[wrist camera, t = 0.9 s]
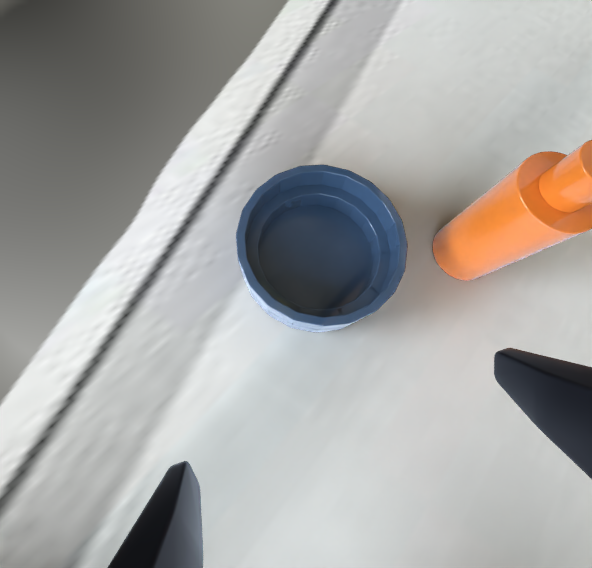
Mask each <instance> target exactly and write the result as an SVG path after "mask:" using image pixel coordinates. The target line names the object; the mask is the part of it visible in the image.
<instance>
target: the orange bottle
mask: <svg viewBox="0 0 592 568" xmlns="http://www.w3.org/2000/svg"><path fill="white" fill-rule="evenodd" d="M590 229H592V140H589V141H587V142H585V143H584V144H583V145H581V146H580V147H578V148H577V149H576V150H574V151H573V152H571V153H570V154H569V155H566V154H562V153H558V152H540V153H537V154H534V155H532V156H530V157H528V158H527V159H526V160H524V161H523V162H522V163H521V164H519V165H518V166H517V167H516V168H514V169H513V170H512V171H511V172H510V173H508V174H507V175H506V176H505V177H503V178H502V179H501V180H500V181H499V182H497V183H496V184H495V185H494V186H492V187H491V188H490V189H489V190H487V191H486V192H485V193H484V194H483V195H481V196H480V197H479V198H478V199H476V200H475V201H474V202H473V203H472V204H470V205H469V206H468V207H467V208H465V209H464V210H463V211H462V212H461V213H459V214H458V215H457V216H456V217H454V218H453V219H452V220H451V221H449V222H448V223H447V224H446V225H445V226H443V227H442V228H441V229H440V230H439V231H438V232H437V233H436V235H435V237H434V241H433V254H434V257H435V259H436V262H437V263H438V265H439V266H440V267H441V269H442V270H443V271H444V272H446V273H447V274H448V275H450V276H452V277H454V278H456V279H459V280H466V281H468V280H475V279H478V278H480V277H483V276H485V275H487V274H489V273H492V272H494V271H496V270H499V269H501V268H503V267H506V266H508V265H510V264H513V263H515V262H517V261H519V260H522V259H524V258H526V257H529V256H531V255H533V254H536V253H538V252H540V251H543V250H545V249H547V248H549V247H552V246H554V245H556V244H559V243H561V242H563V241H566V240H568V239H570V238H573V237H575V236H577V235H579V234H582V233H584V232H586V231H588V230H590Z"/></svg>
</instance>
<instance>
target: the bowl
mask: <svg viewBox="0 0 592 568" xmlns="http://www.w3.org/2000/svg"><path fill="white" fill-rule="evenodd" d="M236 242H237V253H238V261H239V265H240V269H241V272H242V276H243V278H244V281H245V283H246V285H247V287H248V289H249V292H250V294H251V296H252V298H253V299H254V300H255V301H256V302H257V303H258V304H259V305H260V306H261V308H262V309H263V310H264V311H265V312H266V313H267V314H268V315H269V316H271V317H273V318H274V319H276V320H278V321H280V322H281V323H283V324H285V325H287V326H289V327H291V328H295V329H300V330H305V331H310V332H325V331H333V330H340V329H342V328H344V327H346V326H348V325H351V324H353V323H355V322H357V321H359V320H361V319H363V318H365V317H367V316H368V315H370V314H372V313H374V312H375V311H377V310H378V309H379V308H380V307H381V306H382V305H383V304H384V303H385V302H386V301H387V300H388V299H389V298H390V297H391V296H392V295H393V294H394V292H395V291H396V289H397V287H398V284H399V282H400V280H401V278H402V276H403V274H404V272H405V267H406V257H407V247H408V246H407V240H406V236H405V231H404V227H403V222H402V220H401V218H400V216H399V215H398V213H397V211H396V209H395V208H394V206H393V204H392V203H391V201H390V200H389V198H388V197H387V196H386V195H385V194H383V193H382V192H381V191H380V190H379V189H378V188H377V187H376V186H375V185H374V184H373V183H372V182H370V181H369V180H367V179H365V178H363V177H361V176H359V175H357V174H355V173H353V172H352V171H349V170H346V169H341V168H337V167H332V166H328V165H308V166H298V167H296V168H293V169H290V170H287V171H284V172H282V173H279V174H277V175H275V176H273V177H272V178H271V179H269V180H268V181H267V182H265V183H264V184H263V185H262V186H260V187H259V188H258V189H257V190H256V191H255V192H254V194H253V195H252V197H251V198H250V199H249V201H248V202H247V204H246V205H245V207H244V208H243V210H242V213H241V217H240V221H239V225H238V228H237V232H236Z"/></svg>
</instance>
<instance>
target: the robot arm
mask: <svg viewBox="0 0 592 568" xmlns="http://www.w3.org/2000/svg"><path fill="white" fill-rule="evenodd" d="M494 375H495V378H496V380H497V382H498V383H499V385H500V386H501V387H502V388H503V389H504V390H505V391H506V392H507V394H508V395H509V396H510V397H511V398H512V399H513V400H514V401H515V403H516V404H517V405H518V406H519V407H520V408H521V409H522V410H523V412H524V413H525V414H526V415H527V416H528V417H529V418H530V419H531V421H532V422H533V423H534V424H535V425H536V426H537V427H538V428H539V429H540V430H541V431H542V432H543V433H544V434H545V435H546V436H547V437H548V438H549V439H550V440H551V441H552V442H553V443H554V444H555V445H557V446H558V447H559V448H560V449H561V450H562V451H563V452H564V453H565V454H566V455H567V456H568V457H569V458H570V459H571V460H572V461H573V462H574V463H575V464H577V465H578V466H579V467H580V468H581V469H582V470H583V471H584V472H585V473H586V474H587V475H588V476H589V477H590V478H591V479H592V367H588V366H584V365H580V364H575V363H571V362H567V361H563V360H559V359H555V358H550V357H546V356H542V355H538V354H534V353H530V352H526V351H521V350H517V349H513V348H506V349H503V350H501V351H498V352H496V354H495V358H494ZM108 568H203V541H202V519H201V497H200V486H199V483H198V480H197V478H196V476H195V474H194V472H193V470H192V468H191V466H190V464H189V463H188V462H187V461H184V462H181V463H178V464H175V465H173V466H171V467H170V468H169V469H168V471H167V473H166V474H165V476H164V477H163V479H162V481H161V482H160V484H159V486H158V487H157V489H156V490H155V492H154V494H153V495H152V497H151V498H150V500H149V502H148V503H147V505H146V506H145V508H144V510H143V511H142V513H141V515H140V516H139V518H138V519H137V521H136V523H135V524H134V526H133V527H132V529H131V531H130V532H129V534H128V536H127V537H126V539H125V540H124V542H123V544H122V545H121V547H120V548H119V550H118V552H117V553H116V555H115V556H114V558H113V560H112V561H111V563H110V565H109V566H108Z"/></svg>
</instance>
